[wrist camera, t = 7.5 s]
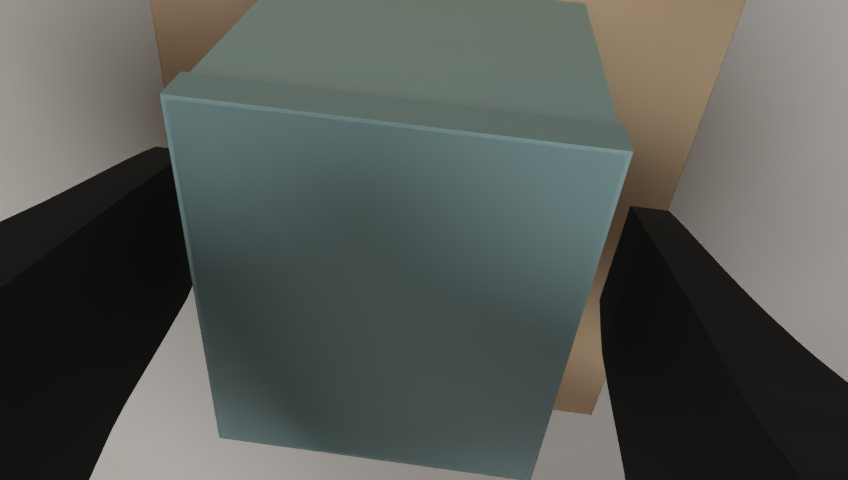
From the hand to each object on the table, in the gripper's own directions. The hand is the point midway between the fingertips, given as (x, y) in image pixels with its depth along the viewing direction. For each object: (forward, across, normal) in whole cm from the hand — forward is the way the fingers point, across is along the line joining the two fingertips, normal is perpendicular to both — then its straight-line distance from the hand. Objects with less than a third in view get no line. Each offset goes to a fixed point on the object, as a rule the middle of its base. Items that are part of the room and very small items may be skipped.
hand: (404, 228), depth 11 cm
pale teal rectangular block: (+2, 0, 0) cm, 2 cm away
